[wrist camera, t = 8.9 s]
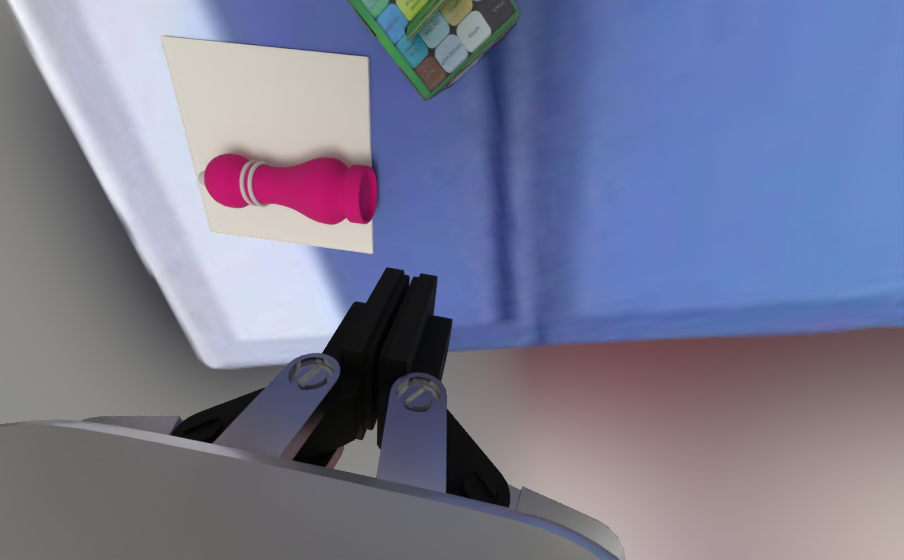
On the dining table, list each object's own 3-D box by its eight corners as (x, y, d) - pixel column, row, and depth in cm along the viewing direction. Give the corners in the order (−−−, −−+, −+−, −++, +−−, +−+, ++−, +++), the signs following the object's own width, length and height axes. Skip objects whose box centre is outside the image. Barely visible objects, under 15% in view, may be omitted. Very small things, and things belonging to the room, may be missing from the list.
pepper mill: (382, 198, 47) (230, 182, 49) (372, 147, 41) (200, 131, 43) (365, 242, 43) (199, 222, 45) (351, 191, 37) (161, 171, 39)
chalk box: (458, -76, 33) (428, -157, 20) (520, 23, 36) (527, 6, 23) (383, 9, 37) (318, -15, 24) (445, 92, 40) (415, 110, 27)
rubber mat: (163, 36, 40) (160, 36, 40) (369, 57, 39) (367, 57, 38) (213, 230, 51) (210, 231, 51) (373, 252, 50) (372, 253, 50)
